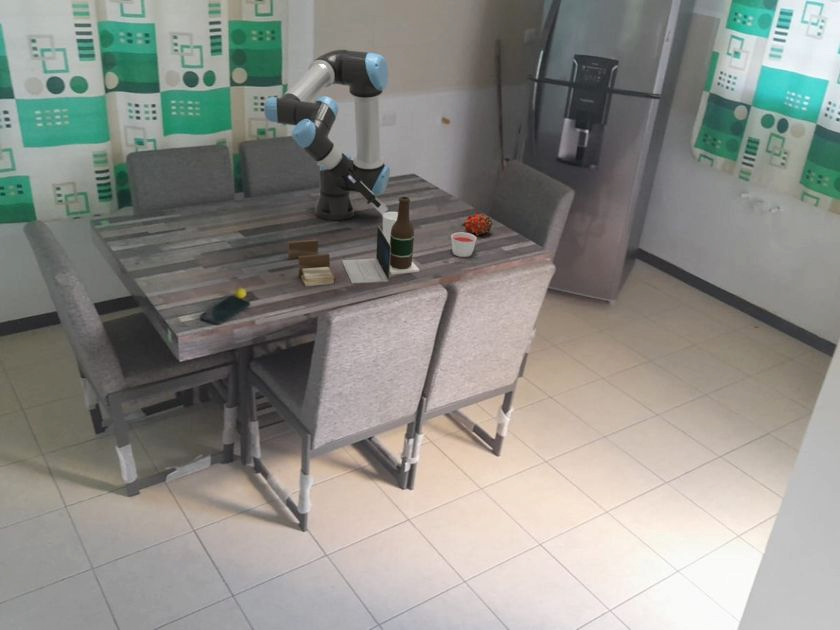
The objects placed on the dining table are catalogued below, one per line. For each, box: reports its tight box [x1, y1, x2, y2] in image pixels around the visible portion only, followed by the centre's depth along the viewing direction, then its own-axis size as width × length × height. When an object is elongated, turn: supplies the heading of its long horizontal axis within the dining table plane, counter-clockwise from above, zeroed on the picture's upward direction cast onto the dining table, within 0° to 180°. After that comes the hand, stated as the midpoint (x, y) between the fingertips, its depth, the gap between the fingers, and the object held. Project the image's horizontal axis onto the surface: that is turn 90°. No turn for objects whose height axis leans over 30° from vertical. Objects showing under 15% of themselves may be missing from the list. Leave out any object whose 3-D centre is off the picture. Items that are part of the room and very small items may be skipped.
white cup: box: [382, 211, 398, 244], centre depth 286 cm, size 8×8×10 cm
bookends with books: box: [287, 239, 335, 287], centre depth 260 cm, size 23×10×7 cm, turn 22°
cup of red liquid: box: [450, 231, 477, 258], centre depth 281 cm, size 9×9×6 cm
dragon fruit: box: [461, 213, 493, 237], centre depth 299 cm, size 8×8×12 cm
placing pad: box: [390, 261, 420, 275], centre depth 268 cm, size 10×10×1 cm
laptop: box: [341, 225, 391, 285], centre depth 261 cm, size 18×12×13 cm
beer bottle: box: [390, 196, 415, 269], centre depth 263 cm, size 8×8×24 cm
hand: (378, 204), depth 255 cm, fingers open, 13 cm apart
